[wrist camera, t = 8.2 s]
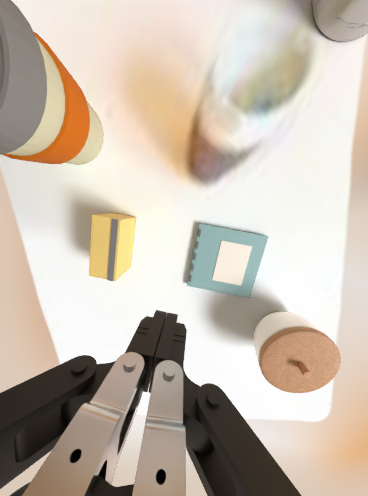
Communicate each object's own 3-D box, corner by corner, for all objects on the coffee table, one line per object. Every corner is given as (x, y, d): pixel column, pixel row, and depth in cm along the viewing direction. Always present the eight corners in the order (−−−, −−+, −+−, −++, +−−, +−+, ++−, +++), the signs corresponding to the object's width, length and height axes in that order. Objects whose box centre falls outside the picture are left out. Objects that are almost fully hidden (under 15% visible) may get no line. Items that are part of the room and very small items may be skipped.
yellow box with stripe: (113, 212, 29) (91, 214, 23) (136, 217, 29) (120, 220, 23) (109, 262, 31) (88, 276, 25) (130, 266, 31) (114, 281, 25)
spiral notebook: (199, 223, 28) (199, 223, 27) (266, 235, 28) (268, 236, 27) (187, 283, 31) (187, 286, 30) (248, 295, 31) (249, 298, 30)
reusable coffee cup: (79, 193, 29) (-41, 179, 14) (21, 130, 27) (-182, 42, 13) (131, 136, 26) (49, 48, 12) (70, 62, 25) (-115, -147, 10)
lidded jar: (320, 324, 31) (370, 372, 22) (276, 360, 33) (306, 418, 24) (275, 289, 30) (308, 325, 21) (233, 329, 33) (248, 377, 23)
